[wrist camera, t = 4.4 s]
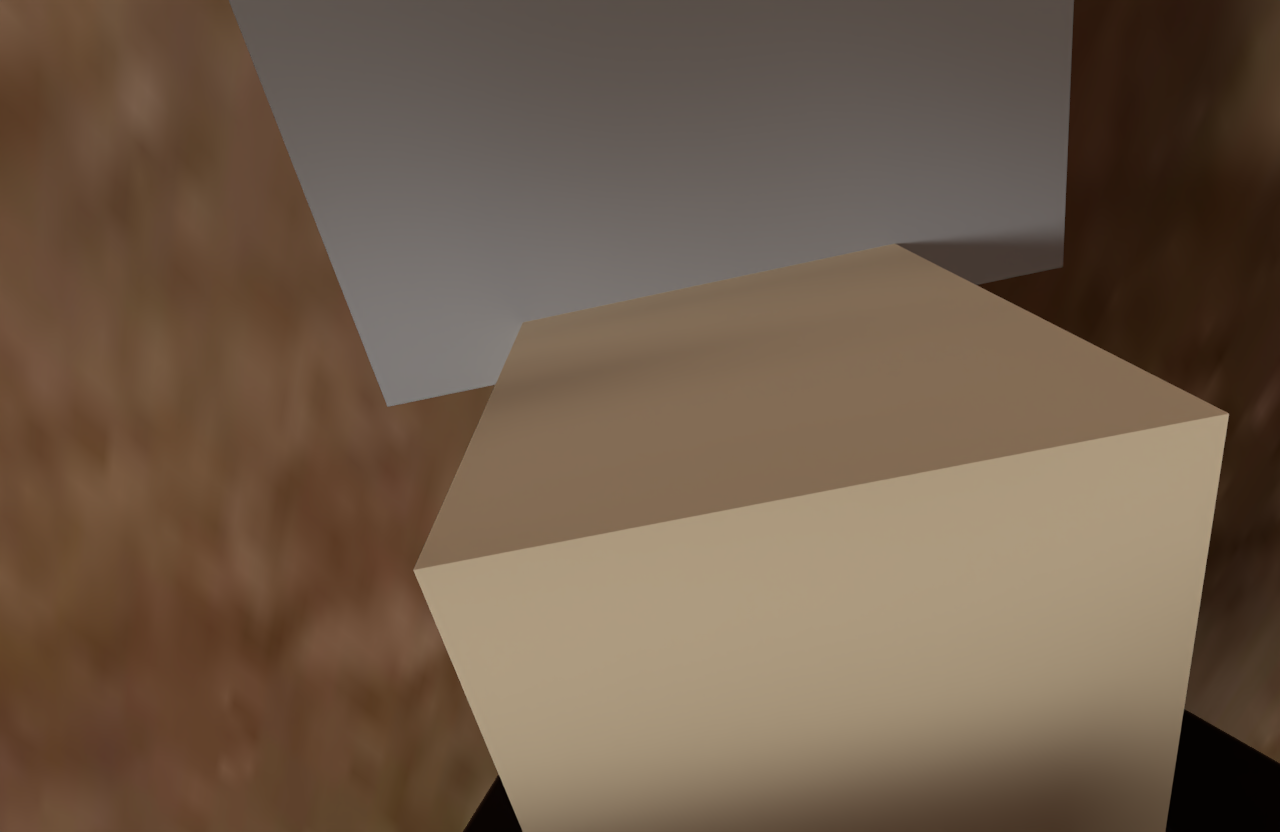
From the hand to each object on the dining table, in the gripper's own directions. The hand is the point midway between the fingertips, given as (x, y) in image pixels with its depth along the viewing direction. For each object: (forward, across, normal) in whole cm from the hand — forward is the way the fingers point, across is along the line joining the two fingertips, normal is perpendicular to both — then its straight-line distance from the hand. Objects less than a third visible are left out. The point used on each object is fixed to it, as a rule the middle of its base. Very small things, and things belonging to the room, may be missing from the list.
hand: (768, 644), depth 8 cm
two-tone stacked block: (+1, 0, -2) cm, 2 cm away
